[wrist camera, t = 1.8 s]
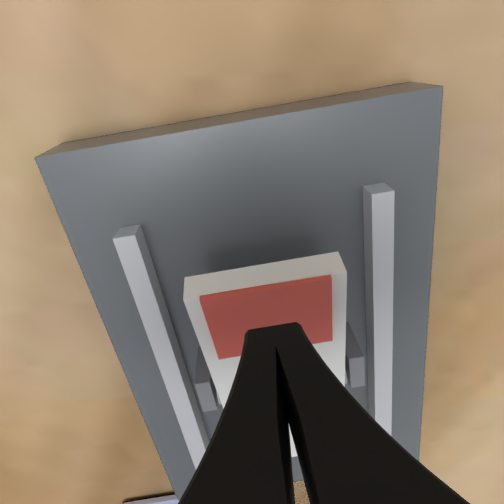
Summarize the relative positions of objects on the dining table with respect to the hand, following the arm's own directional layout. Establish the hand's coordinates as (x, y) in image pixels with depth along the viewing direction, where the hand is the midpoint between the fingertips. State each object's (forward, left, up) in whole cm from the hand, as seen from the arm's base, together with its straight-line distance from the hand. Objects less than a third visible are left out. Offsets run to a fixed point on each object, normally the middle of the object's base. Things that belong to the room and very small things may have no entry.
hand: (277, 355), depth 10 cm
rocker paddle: (-5, 0, -4) cm, 6 cm away
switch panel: (-5, 0, -8) cm, 10 cm away
